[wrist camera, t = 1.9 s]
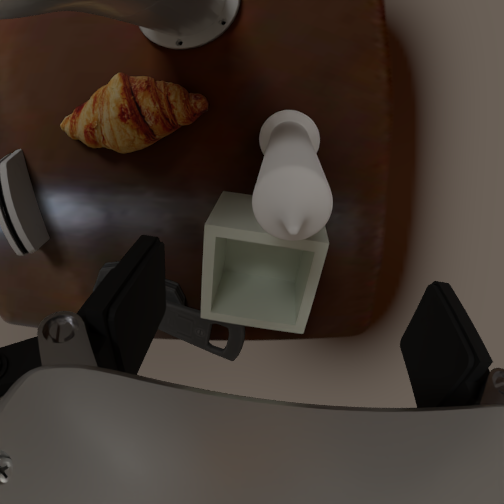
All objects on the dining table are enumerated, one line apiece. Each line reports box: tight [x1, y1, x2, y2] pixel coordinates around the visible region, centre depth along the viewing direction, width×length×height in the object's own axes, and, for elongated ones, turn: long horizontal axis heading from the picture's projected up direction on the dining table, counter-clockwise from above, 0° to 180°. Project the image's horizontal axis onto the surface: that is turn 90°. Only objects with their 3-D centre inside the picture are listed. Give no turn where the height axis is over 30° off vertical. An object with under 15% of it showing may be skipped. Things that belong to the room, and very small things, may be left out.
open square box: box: [201, 191, 329, 334], centre depth 39 cm, size 12×12×10 cm
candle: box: [252, 110, 333, 241], centre depth 25 cm, size 7×7×25 cm
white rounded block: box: [0, 149, 50, 256], centre depth 40 cm, size 17×5×10 cm, turn 7°
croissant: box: [60, 73, 209, 154], centre depth 34 cm, size 21×10×8 cm, turn 94°
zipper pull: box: [93, 261, 245, 361], centre depth 47 cm, size 9×7×25 cm
